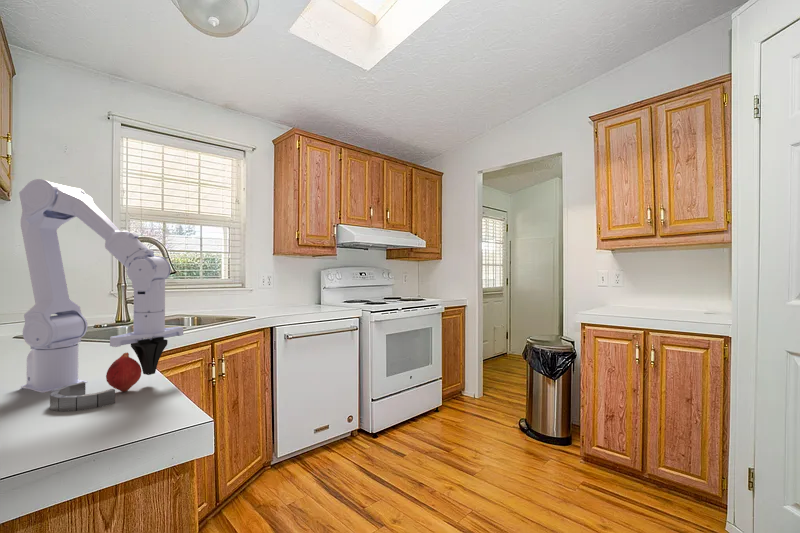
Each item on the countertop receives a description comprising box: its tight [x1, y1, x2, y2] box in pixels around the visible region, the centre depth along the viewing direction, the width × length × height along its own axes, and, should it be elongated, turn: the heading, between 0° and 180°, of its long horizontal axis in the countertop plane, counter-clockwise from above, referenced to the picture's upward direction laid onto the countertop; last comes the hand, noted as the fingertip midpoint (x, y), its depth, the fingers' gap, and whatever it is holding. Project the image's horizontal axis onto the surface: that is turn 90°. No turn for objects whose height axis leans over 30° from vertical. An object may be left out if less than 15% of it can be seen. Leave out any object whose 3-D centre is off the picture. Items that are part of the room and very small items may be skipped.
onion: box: [105, 352, 142, 393], centre depth 78 cm, size 6×6×8 cm
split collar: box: [49, 382, 116, 413], centre depth 71 cm, size 11×7×3 cm, turn 65°
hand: (149, 373), depth 83 cm, fingers closed
